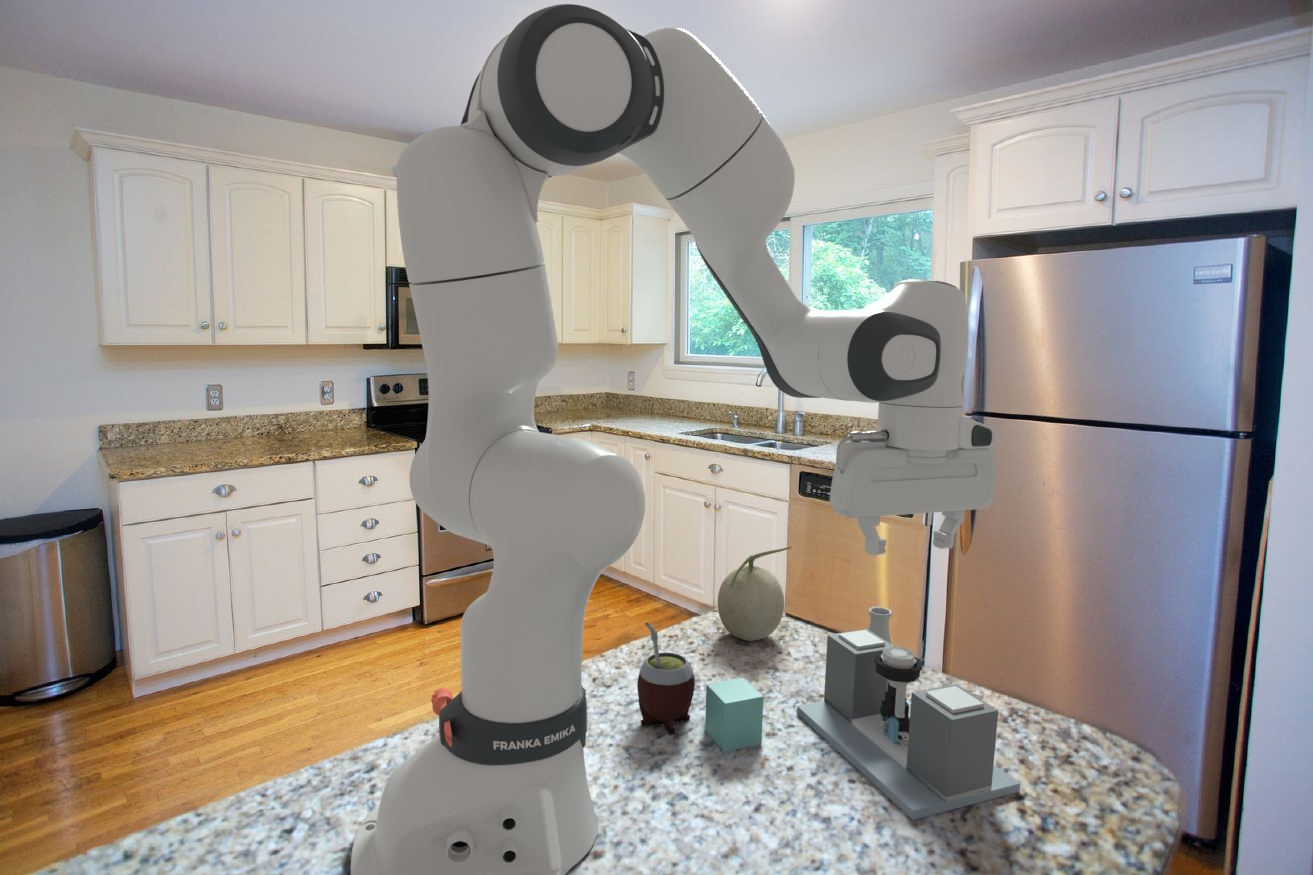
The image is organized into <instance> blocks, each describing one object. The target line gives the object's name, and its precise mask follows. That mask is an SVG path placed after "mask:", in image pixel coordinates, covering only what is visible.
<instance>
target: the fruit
mask: <svg viewBox="0 0 1313 875" xmlns="http://www.w3.org/2000/svg"><path fill="white" fill-rule="evenodd" d="M790 549H792V546H787V547H783V548H779V549H773V550H769V551H764V552H759V553H755V554H753V555H749V556H748V557H747V558H746V559H745V560H744V561H743V562H742V563H741V565H740V566H739V567H738V568H736V569H735V570H733V571H731V572H730V573H729V574H728V575H726V576H725V577H724V579H723V581H722V583H721V585H720V587H719V590H718V595H717V611H718V616H719V618H720V621H721V624H722V626H724V629H725V630H726V631H727V632H728V633H729V634H730V635H732V636H734V637H736V638H738V639H741V640H743V641H747V642H748V641H749V642H752V641H753V642H754V641H759V640H762V639H765V638H767V637H768V636H770V635H771V634H773V633H774V632H775V631H776V629H777V628H778V627H779V625H780V623H781V621H782V618H783V615H784V611H785V596H784V591H783V588H782V585H781V583H780V581H779V580H778V578H777V577H776V576H775V575H774V574H773V573H772V572H770V571H769V570H767V569H766V568H763V567H760V566H756V565H754V562H755V560H756V559H759V558H762V557H764V556H767V555H772V554H776V553H780V552H783V551H786V550H790ZM747 564H748V565H747Z"/></svg>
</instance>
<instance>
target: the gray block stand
mask: <svg viewBox="0 0 1313 875" xmlns="http://www.w3.org/2000/svg"><path fill="white" fill-rule="evenodd" d="M826 637H827V639H826V640H827V641H826V654H825V656H826V658H825V659H826V660H825V675H824V693H823V695H824V696H823V700H822V701H816V702H810V703H805V704H800V705H796V708H797V709H796V714H797V715H799V717H800V718H801V719H802V720H804V721H805V722H806V723H807V724H808V725H809V726H810V727H811V728H812V729H814V730H815V731H816V733H818V734H819V735H820V736H821V737H822V738H823V739H824V740H825V741H826V742H828V744H830V745H831V746H832V747H833V748H834V749H836V751H838V752H839V754H841V755H842V756H843V757H844V758H845V759H846V760H847V761H848V762H849V763H850V764H851V765H853V766H854V767H855V768H856V769H857V770H858V771H859V772H860V773H861V774H863V776H865V777H866V778H867V780H868V781H869V782H871V783H872V784H873V785H874V786H875V787H876V788H877V789H878V790H879V791H881V792H882V793H883V794H884V795H885V796H886V797H887V798H889V800H891V801H892V802H893V804H895V805H896V806H897V807H898V808H899V809H900V810H901V811H902V812H903V813H905V815H906V816H908V817H909V818H910V819H911V820H912V821H915V820H919V819H922V818H925V817H931V816H934V815H937V814H942V813H944V812H945V813H946V812H948V811H949V812H950V811H952V810H955V809H960V808H965V807H969V806H972V805H974V804H980V803H982V802H987V801H991V800H995V799H997V798H999V799H1000V798H1001V797H1005V796H1010V795H1014V794H1017V793H1020V790H1021V782H1019V781H1018V780H1017V779H1015V778H1013V777H1012V776H1011V775H1009V774H1008V773H1007V772H1005V771H1004V770H1002V769H1001V768H999V767H998V766H997V765H995V753H996V752H995V750H996V743H997V742H996V741H997V728H998V721H999V709H997V708H995V707H994V706H992V705H991V704H989V703H987V702H986V701H984V700H983V699H981V698H980V697H977V696H976V695H974V694H973V693H971V692H969V691H968V690H966V689H965V688H963V687H961V686H960V685H959V684H956V683H955V684H949V685H944V686H939V687H934V688H928V689H923V690H917V691H911V699H910V704H909V703H908V705H909V714H908V717H909V718H910V724H909V735H908V736H909V738H908V748H903V746H902V745H901V743H892V741H891V740H890V738H889V736H888V735H887V733H886V732H885V730H883V734H882V733H881V731H880V707H881V703H882V701H885V692H887V680H886V679H884V678H883V677H882V676H881V675H879V674H878V673H877V672H876V664H875V662H874V657H875V655H876V654H877V653H880V652H883V649H884V648H885V647H890V646H894V644H893V643H892V644H890V643H889V642H887V641H885V640H884V639H882V638H880V637H879V636H877V635H876V634H874V633H872V632H871V631H869V630H868V629H867V628H866V629H858V630H853V631H852V630H851V631H842V632H838V633H830V634H827V636H826ZM881 729H882V726H881ZM904 745H905V746H907V745H906V744H904Z"/></svg>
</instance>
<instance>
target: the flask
mask: <svg viewBox="0 0 1313 875" xmlns="http://www.w3.org/2000/svg"><path fill="white" fill-rule="evenodd" d="M892 612H893V611H892V609H888V608H886V607H882V606H872V607H869V608H868V615H869V616H870V619H869V620H870V622H869V626H868V629H867V630H869V631H871V632H872V633H874V634H876V635H877V636H879V637H880V638H882V639H884V640H885V641H887V642H889V643H890V644H892V645H893V641H892V638H891V632H890V618H892V615H893V613H892Z"/></svg>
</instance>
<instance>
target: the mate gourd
mask: <svg viewBox="0 0 1313 875" xmlns="http://www.w3.org/2000/svg"><path fill="white" fill-rule="evenodd" d="M644 625H645V626H646V627H647V628H648V629H649V631H650V637H651V641H652V644H653V651H654V654H651V655H649V656H648V657H647V658H646V659H645V660H644V661H643V663H642V664H641V666H640V669H639V674H638V677H637V682H636V683H637V687H636V688H637V695H638V706H639V711H640V713H641V717H642V719H640V725H641V727H650V726H657V725H658V726H659V725H661V726H662V725H663V726H664V728H665V730H666V733H667V734H668V736H675V735H676V729H675V727H674V725H675V723H680V722H688V721H690V718H691V715H690V714H689V711H690V708H691V705H692V701H693V697H694V693H695V686H696V679H695V675H694V669H693V666H692V665H691V664H690V662H689V661H688V659H687V658H686V657H684V656H683V655H681V654H678V653H674V652H664V651H663V652H659V651H660V649H659V645H658V644H659V643H658V640H659V636H658V631H656V629H655V626H653V625H652V624H650V623H649V622H645V623H644Z"/></svg>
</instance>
